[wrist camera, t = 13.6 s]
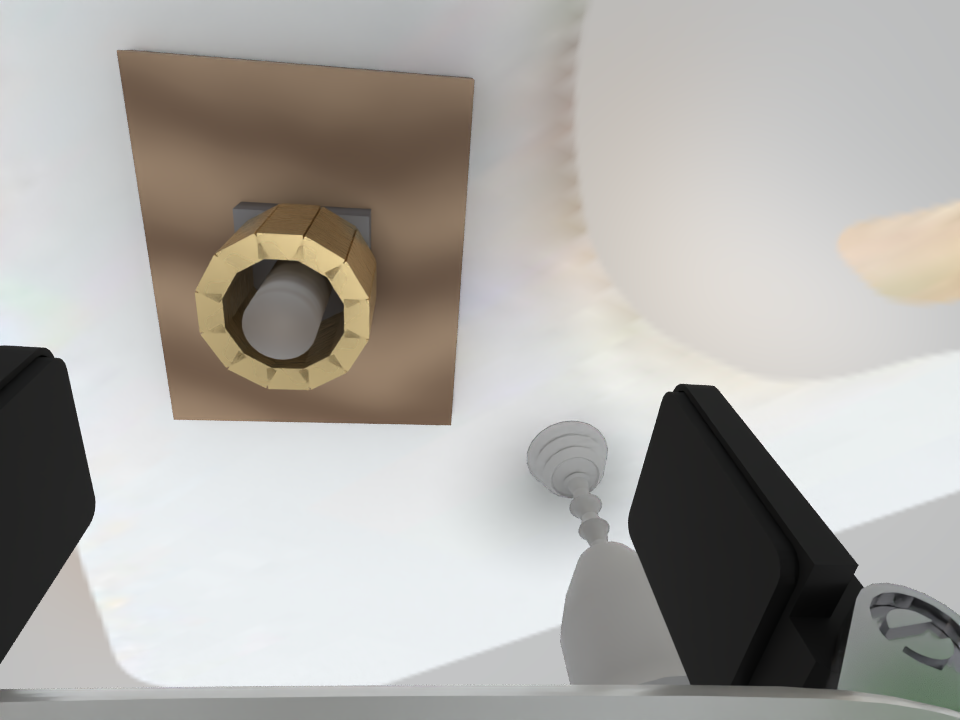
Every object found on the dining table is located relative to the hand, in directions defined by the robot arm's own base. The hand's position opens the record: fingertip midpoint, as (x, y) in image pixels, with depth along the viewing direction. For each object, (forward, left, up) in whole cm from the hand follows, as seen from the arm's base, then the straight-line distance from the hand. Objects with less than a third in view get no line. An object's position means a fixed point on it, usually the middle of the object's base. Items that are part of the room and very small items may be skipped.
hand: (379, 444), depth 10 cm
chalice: (+16, +10, -24) cm, 31 cm away
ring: (+4, -5, -21) cm, 21 cm away
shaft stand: (+4, -5, -24) cm, 24 cm away
